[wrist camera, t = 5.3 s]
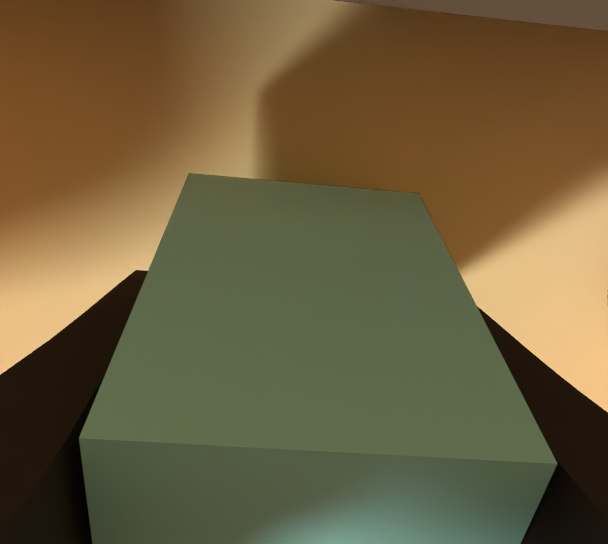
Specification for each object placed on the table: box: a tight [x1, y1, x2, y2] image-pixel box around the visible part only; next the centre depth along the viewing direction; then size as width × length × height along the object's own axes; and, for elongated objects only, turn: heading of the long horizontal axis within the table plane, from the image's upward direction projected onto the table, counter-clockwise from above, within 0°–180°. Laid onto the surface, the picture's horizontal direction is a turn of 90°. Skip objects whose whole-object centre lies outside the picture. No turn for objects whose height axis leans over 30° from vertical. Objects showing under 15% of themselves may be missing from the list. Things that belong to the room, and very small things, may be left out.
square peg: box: [79, 173, 557, 544], centre depth 8 cm, size 4×4×6 cm
